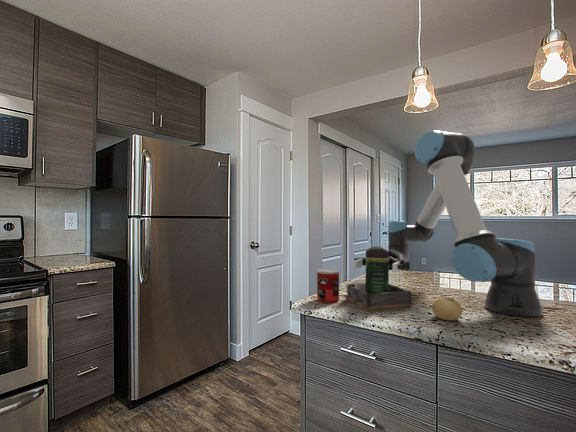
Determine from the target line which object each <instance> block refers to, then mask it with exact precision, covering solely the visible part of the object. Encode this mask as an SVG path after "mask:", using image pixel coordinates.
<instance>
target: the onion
mask: <svg viewBox="0 0 576 432" xmlns="http://www.w3.org/2000/svg"><path fill="white" fill-rule="evenodd" d="M454 298H455V296H453V297H449V296H442V297H439V298H437V299H435V300H434V301H433V303H432V306H431V308H432V313H433V314H434V316H435V317H436V318H438V319H440V320H443V321H457V320H459V319H460V318H461V317H462V314H463V307H462V306H461V304H460V303H459V302H458V301H457V300H455V299H454Z"/></svg>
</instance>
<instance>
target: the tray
mask: <svg viewBox="0 0 576 432" xmlns="http://www.w3.org/2000/svg"><path fill="white" fill-rule="evenodd" d="M346 293H347V294H346V295H345V300H346V301H348V302H350V303H352V304H354V305H355V306H357V307H360V308H361V309H363V310H364V311H366V312H369V313H371V312H379V311H380V312H381V311H391V310H402V309H411V308H412V297H411V296H412V291H411V290H408V289H405V288H402V287H399V286H396V285H393V284H390V283H388V292H386V293H373V294H369V293H367V292H365V291H362V290H360V289H358V288H356V287H355V285H354V284H351V283H350V284H348V285H347V289H346Z"/></svg>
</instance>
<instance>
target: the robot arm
mask: <svg viewBox="0 0 576 432" xmlns="http://www.w3.org/2000/svg"><path fill="white" fill-rule="evenodd" d="M414 157H415V159H416V160H417V161H418V163H420V164H424V165H425V166H426V170H427V172H428V173H429V174H430V175H432V176H434V178H435V180H436V183H435V185H434V186H433V188H432V190H431V192H430V194H429V196H428V198H427V200H426V202H425V204H424V206H423V208H422V210H421V211H420V214H419V216H418V218H417V219H416V221H415V224H408V222H407V221H406V220H390V221H389V222H388V225H387V227H388V228H387V236H388V237H387V238H388V241H387V242H388V246H387V247H388V249H387V251H388V258H389V271H392V273H396V272H398V271H400V270H402V271H403V270H404V269H405V270H407V271H409V270H410V269H411V266H410V264H411V263H410V261H409V258H410V254H409V252H408V243H420V242H421V243H426V242H431V241H433V240H434V239H435V237H436V231H437V230H436V229H435V227H436V225H437V222H439V219H440V218H441V216H442V214H443V212H444V211H445V208H446V211H447V213H448V216H449V219H450V222H451V224H452V227H453V230H454V233H455V235H456V239H455V240H454V242H453V244H454V245H453V246H454V247H455V248H454V249H453V251H452V255H451V264H452V266H453V268H454V270H455V271H456V273H457V274H458V275H459V276H460V277H462V278H463V279H465V280H466V281H469V282H474V283H475V282H476V283H486V282H490V286H489V288H488V291H487V294H486V297H485V300H484V307H485V309H487V310H489V311H492V312H495V313H499V314H503V315H508V316H515V317H524V318H537V317H541V316H543V314H544V313H543V306H542V305H541V301H540V297H539V295H538V293H537V290H536V252H535V245H534V243H533V242H531V241H528V240H523V239H513V238H504V237H503V238H501V237H496V234H495V233H494V232H492V231H490V230H488V229H487V228H486V225H485V222H484V221H483V217H482V215H481V213H480V210H479V208H478V205H477V203H476V201H475V198H474V196H473V193H472V191H471V188H470V186H469V184H468V181H467V178H466V176H467V175H468V173H469V172H470V171H471V168H472V166H473V164H474V161H475V158H476V145H475V143H474V141H473V140H472V139H471V137H470V136H469V135H466V134H464V133H461V132H460V133H459V132H450V131H443V130H440V129H437V130H436V129H435V130H434V129H433V130H428V131H426V132H424V133H423V134H422V135H421V136H420V137H419V138H418V140H417V142H416V145H415V148H414ZM363 266H366V256H365V257H355V258H354V260H353V269H355V270H356V269H359V268H360V269H361V268H362V267H363Z"/></svg>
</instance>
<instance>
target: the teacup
mask: <svg viewBox="0 0 576 432" xmlns="http://www.w3.org/2000/svg"><path fill="white" fill-rule="evenodd" d="M348 284H354V285H355V287H356V288H358V289H360V290H362V291H365V286H366V279H360V278H357V279H351V281H350V283H349V282H348V283H346V284H345V290H347V285H348Z"/></svg>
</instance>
